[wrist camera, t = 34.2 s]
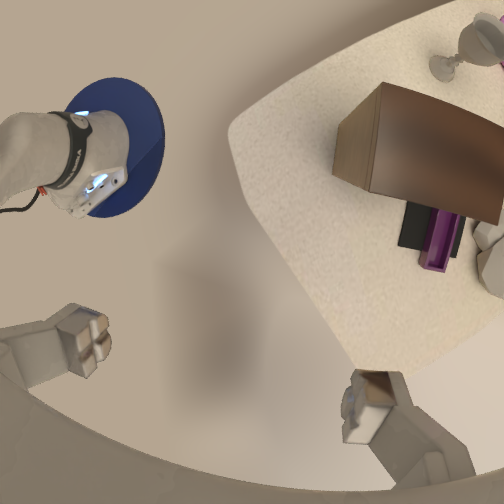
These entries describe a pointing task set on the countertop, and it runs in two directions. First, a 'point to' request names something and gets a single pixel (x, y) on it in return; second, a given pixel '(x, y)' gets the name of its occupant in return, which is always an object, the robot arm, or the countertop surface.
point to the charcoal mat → (423, 228)
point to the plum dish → (439, 240)
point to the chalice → (473, 47)
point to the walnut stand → (423, 153)
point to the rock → (491, 256)
